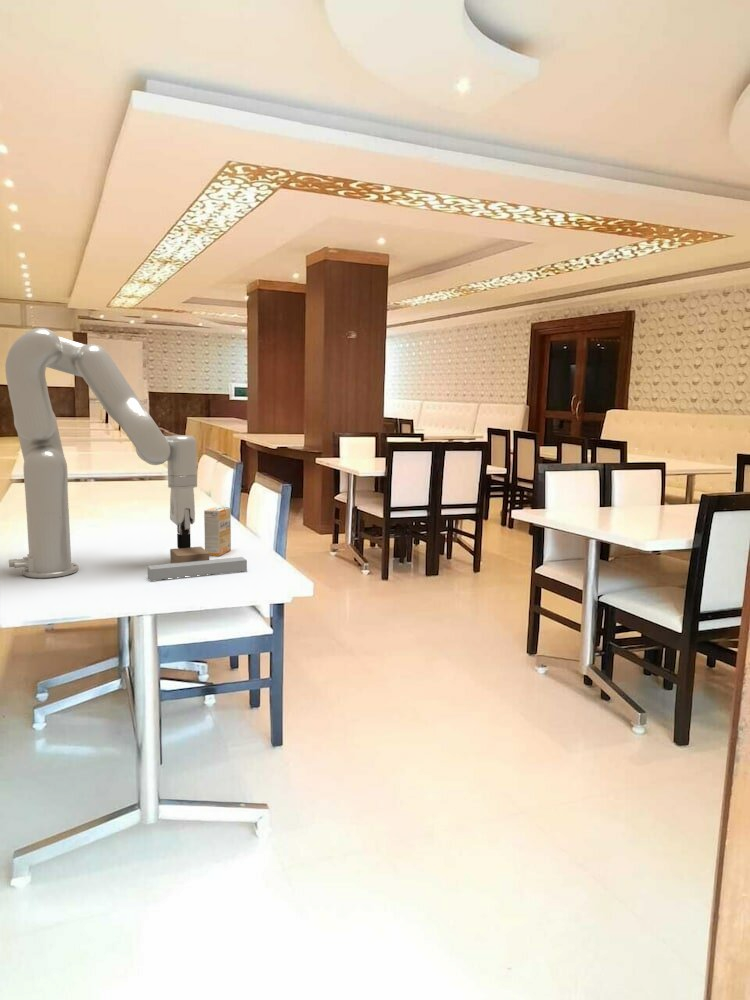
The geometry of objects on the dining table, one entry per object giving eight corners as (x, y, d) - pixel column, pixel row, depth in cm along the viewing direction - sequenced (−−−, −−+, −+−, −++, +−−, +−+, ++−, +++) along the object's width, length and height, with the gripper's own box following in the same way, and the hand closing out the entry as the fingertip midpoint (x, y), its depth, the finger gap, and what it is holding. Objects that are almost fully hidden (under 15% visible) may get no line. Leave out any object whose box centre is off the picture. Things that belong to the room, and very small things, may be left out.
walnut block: (177, 575, 173) (177, 556, 173) (170, 567, 181) (170, 549, 180) (209, 572, 177) (209, 553, 176) (201, 564, 185) (200, 546, 184)
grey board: (150, 581, 166) (150, 569, 166) (147, 577, 170) (147, 565, 169) (246, 571, 177) (246, 560, 177) (242, 568, 181) (242, 556, 180)
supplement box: (220, 556, 193) (219, 510, 192) (204, 555, 194) (203, 510, 193) (231, 550, 201) (231, 506, 200) (216, 549, 202) (215, 505, 201)
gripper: (163, 478, 189) (164, 544, 192) (173, 485, 176) (175, 555, 179) (190, 478, 192) (191, 542, 195) (203, 484, 179) (204, 552, 182)
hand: (184, 548), depth 187 cm, fingers closed
